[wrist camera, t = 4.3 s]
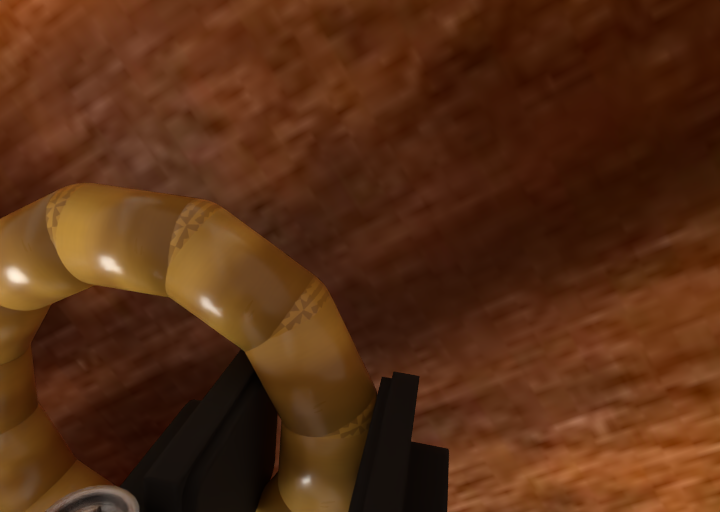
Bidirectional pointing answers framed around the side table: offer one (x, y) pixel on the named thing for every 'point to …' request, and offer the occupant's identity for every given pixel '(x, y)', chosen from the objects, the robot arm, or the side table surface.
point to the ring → (204, 300)
